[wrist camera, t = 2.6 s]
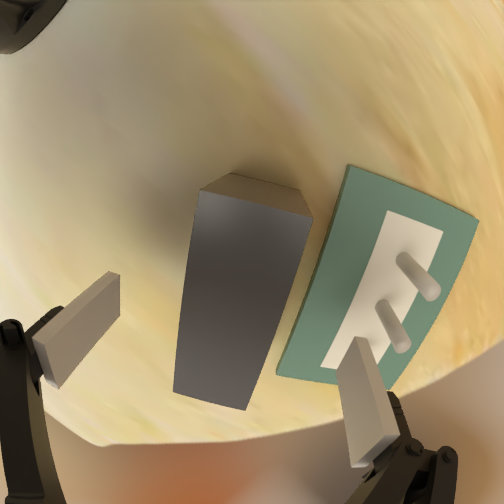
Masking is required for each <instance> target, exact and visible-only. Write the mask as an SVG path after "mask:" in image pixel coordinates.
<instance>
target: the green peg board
mask: <svg viewBox="0 0 504 504" xmlns="http://www.w3.org/2000/svg"><path fill="white" fill-rule="evenodd" d="M478 223H479V220H478V219H476V218H474V217H472V216H470V215H468V214H466V213H464V212H462V211H460V210H458V209H456V208H454V207H452V206H450V205H448V204H446V203H443V202H441V201H439V200H437V199H435V198H432V197H430V196H428V195H426V194H423V193H421V192H419V191H416V190H414V189H411V188H409V187H407V186H404V185H402V184H399V183H397V182H394V181H392V180H389V179H386V178H384V177H381V176H378V175H376V174H373V173H370V172H367V171H364V170H362V169H359V168H356V167H353V166H350V165H347V169H346V172H345V176H344V179H343V183H342V186H341V190H340V193H339V196H338V200H337V203H336V206H335V209H334V213H333V216H332V219H331V222H330V225H329V228H328V231H327V235H326V238H325V241H324V244H323V247H322V250H321V252H320V255H319V258H318V261H317V264H316V267H315V270H314V273H313V275H312V278H311V281H310V284H309V287H308V289H307V292H306V295H305V297H304V300H303V303H302V305H301V308H300V311H299V313H298V316H297V319H296V321H295V324H294V326H293V329H292V331H291V334H290V336H289V339H288V341H287V344H286V346H285V349H284V351H283V354H282V356H281V358H280V361H279V363H278V365H277V368H276V375H279V376H284V377H289V378H295V379H301V380H307V381H314V382H320V383H327V384H335V385H338V382H337V377H336V370H337V368H338V366H339V365H340V363H341V361H342V359H343V357H344V355H345V354H346V352H347V350H348V348H349V346H350V344H351V342H352V340H353V339H354V337H355V336H358V337H364V338H367V340H368V342H369V345H370V348H371V350H372V353H373V355H374V358H375V361H376V364H377V366H378V369H379V372H380V375H381V377H382V380H383V383H384V386H385V389H386V390H390V389H391V387H392V386H393V385H394V383H395V382H396V381H397V379H398V378H399V376H400V375H401V374H402V372H403V371H404V369H405V368H406V366H407V365H408V363H409V362H410V360H411V359H412V357H413V356H414V354H415V353H416V351H417V350H418V348H419V347H420V345H421V343H422V342H423V340H424V338H425V337H426V335H427V333H428V332H429V330H430V328H431V327H432V325H433V323H434V321H435V319H436V318H437V316H438V314H439V312H440V310H441V308H442V307H443V305H444V303H445V301H446V299H447V297H448V295H449V293H450V291H451V289H452V287H453V284H454V282H455V280H456V278H457V276H458V274H459V271H460V269H461V267H462V265H463V262H464V260H465V257H466V255H467V252H468V250H469V247H470V245H471V242H472V240H473V237H474V234H475V231H476V229H477V226H478Z"/></svg>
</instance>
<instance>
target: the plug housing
mask: <svg viewBox="0 0 504 504" xmlns="http://www.w3.org/2000/svg"><path fill="white" fill-rule="evenodd" d="M312 222H313V216H312V214H311V212H310V210H309V208H308V206H307V204H306V202H305V200H304V198H303V196H302V194H301V192H300V191H299V190H295V189H292V188H288V187H284V186H280V185H276V184H273V183H269V182H265V181H261V180H257V179H252V178H248V177H244V176H240V175H235V174H231V173H229V174H227V175H225V176H223V177H221V178H220V179H218V180H216V181H214V182H213V183H211V184H209V185H207V186H205V187H204V188H202V189H200V190H199V195H198V201H197V206H196V212H195V217H194V223H193V229H192V235H191V241H190V247H189V254H188V260H187V267H186V274H185V281H184V288H183V296H182V304H181V312H180V321H179V330H178V339H177V349H176V360H175V371H174V384H173V392H175V393H178V394H181V395H185V396H188V397H192V398H195V399H199V400H202V401H206V402H210V403H214V404H218V405H222V406H226V407H231V408H235V409H240V410H244V411H245V410H246V408H247V405H248V403H249V401H250V398H251V396H252V393H253V391H254V388H255V386H256V383H257V380H258V378H259V375H260V373H261V370H262V367H263V365H264V362H265V360H266V357H267V354H268V352H269V349H270V346H271V344H272V341H273V338H274V335H275V333H276V330H277V327H278V324H279V322H280V319H281V316H282V313H283V310H284V307H285V304H286V302H287V299H288V296H289V293H290V290H291V287H292V284H293V281H294V278H295V275H296V272H297V269H298V266H299V263H300V260H301V257H302V254H303V251H304V247H305V244H306V241H307V238H308V235H309V231H310V228H311V225H312Z"/></svg>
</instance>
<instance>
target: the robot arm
mask: <svg viewBox="0 0 504 504" xmlns="http://www.w3.org/2000/svg"><path fill="white" fill-rule="evenodd" d="M65 1H66V0H0V54H10V53H13V52H15V51H17V50H19V49H20V48H22V47H23V46H25V45H26V44H27V43H28V42H30V41H31V40H32V39H33V38H34V37H35V36H36V35H37V34H38V33H39V32H40V31H41V30H42V29H43V28H44V27H45V26H46V25H47V24H48V22H49V21H50V20H51V19H52V18H53V17H54V15H55V14H56V13H57V12H58V10H59V9H60V8H61V6H62V5H63V4H64V2H65ZM119 316H120V275H119V274H116V273H113V272H110V271H108V272H107V273H106V274H105V275H103V276H102V277H101V278H100V279H98V280H97V281H96V282H95V283H93V284H92V285H91V286H90V287H89V288H87V289H86V290H85V291H84V292H83V293H81V294H80V295H79V296H78V297H77V298H75V299H74V300H73V301H72V302H71V303H70V304H68V305H67V306H66V307H65V308H64V307H62V306H58V307H55V308H53V309H51V310H50V311H49V312H47V313H46V314H45V316H43V317H42V318H40V320H38V321H37V322H36V323H35V324H34V325H32V326H31V327H30V328H29V329H28V330H27V331H26V332H25V333H24V331H23V327H22V324H21V323H20V322H19V321H17V320H15V319H8V320H5V321H3V322H1V323H0V442H1V451H2V459H3V466H4V472H5V477H6V482H7V487H8V496H7V497H6V498H5V504H67V503H66V501H65V498H64V495H63V492H62V489H61V486H60V483H59V479H58V476H57V472H56V468H55V465H54V461H53V457H52V452H51V448H50V443H49V438H48V433H47V427H46V421H45V415H44V408H43V400H42V390H41V382H40V379H39V378H40V377H41V376H42V375H43V374H44V377H45V380H46V382H47V383H48V384H50V385H52V386H53V387H55V388H57V389H58V390H59V389H60V387H61V386H62V385H63V383H64V382H65V381H66V380H67V378H68V377H69V376H70V375H71V373H72V372H73V371H74V370H75V368H76V367H77V366H78V365H79V363H80V362H81V361H82V360H83V358H84V357H85V356H86V355H87V354H88V352H89V351H90V350H91V349H92V348H93V346H94V345H95V344H96V343H97V342H98V340H99V339H100V338H101V337H102V336H103V335H104V333H105V332H106V331H107V330H108V329H109V328H110V326H111V325H112V324H113V323H114V322H115V321H116V319H117V318H118V317H119ZM336 377H337V382H338V387H339V393H340V398H341V404H342V410H343V416H344V422H345V428H346V434H347V441H348V448H349V455H350V462H351V467H366V466H367V465H369V464H370V463H371V462H372V461H373V463H374V468H372V469H371V470H370V471H369V472H367V473H366V474H365V475H364V476H363V477H362V478H365V479H364V480H363V481H362V483H361V484H360V485H359V486H358V488H357V489H356V490H355V492H354V493H353V494H352V495H351V497H350V498H349V499H348V500H347V502H346V503H345V504H454V499H455V491H456V480H457V468H458V455H457V453H456V451H455V450H454V449H453V448H451V447H449V446H443V447H441V448H440V449H439V450H438V451H431V450H427V449H424V447H423V445H422V444H421V443H420V442H419V441H418V440H416V439H414V438H412V437H411V434H410V431H409V428H408V425H407V422H406V419H405V416H404V415H403V414H404V413H403V410H402V409H401V405H400V402H399V399H398V398H397V397H396V395H395V394H394V393H393V392H390V391H386V389H385V386H384V383H383V380H382V377H381V375H380V372H379V369H378V366H377V364H376V361H375V358H374V355H373V353H372V350H371V348H370V345H369V342H368V340H367V338H364V337H358V336H355V337H354V339H353V340H352V342H351V344H350V346H349V348H348V350H347V352H346V354H345V355H344V357H343V359H342V361H341V363H340V365H339V366H338V368H337V370H336Z"/></svg>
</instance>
